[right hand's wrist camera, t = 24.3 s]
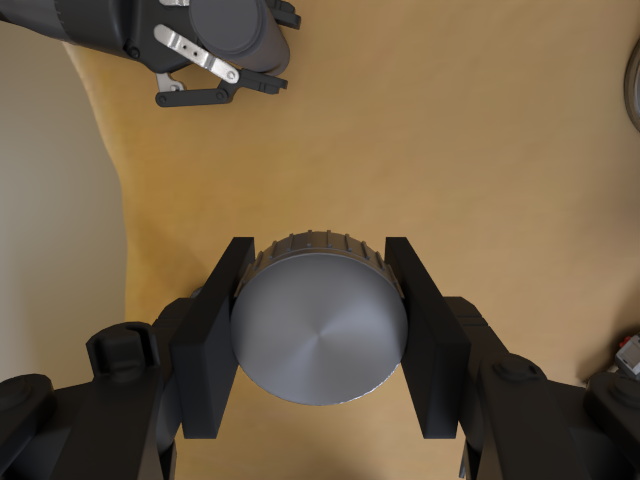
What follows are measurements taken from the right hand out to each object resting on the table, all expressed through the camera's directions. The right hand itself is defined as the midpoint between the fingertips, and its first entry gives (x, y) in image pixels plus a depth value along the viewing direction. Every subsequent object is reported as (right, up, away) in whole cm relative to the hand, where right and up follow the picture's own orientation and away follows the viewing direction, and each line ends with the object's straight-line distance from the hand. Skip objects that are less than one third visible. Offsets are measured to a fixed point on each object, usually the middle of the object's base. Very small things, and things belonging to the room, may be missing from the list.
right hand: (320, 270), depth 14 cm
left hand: (-2, +17, +16) cm, 23 cm away
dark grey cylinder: (-5, +19, +22) cm, 30 cm away
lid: (0, -1, -4) cm, 4 cm away
